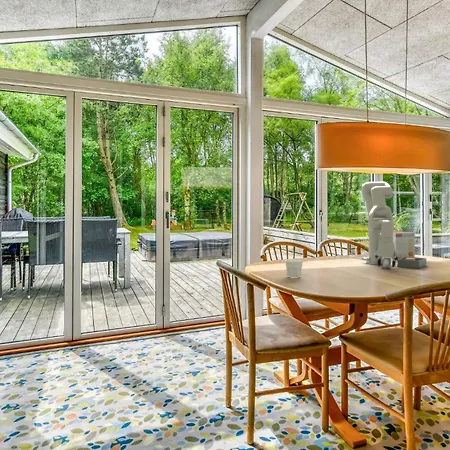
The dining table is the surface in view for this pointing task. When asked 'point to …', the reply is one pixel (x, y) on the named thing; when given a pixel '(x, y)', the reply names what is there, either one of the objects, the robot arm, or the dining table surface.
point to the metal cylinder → (386, 263)
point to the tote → (411, 262)
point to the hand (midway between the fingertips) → (386, 266)
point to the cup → (294, 267)
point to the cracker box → (404, 244)
